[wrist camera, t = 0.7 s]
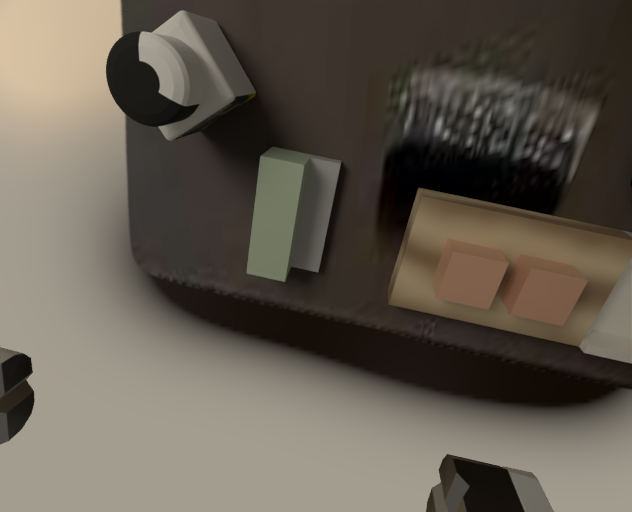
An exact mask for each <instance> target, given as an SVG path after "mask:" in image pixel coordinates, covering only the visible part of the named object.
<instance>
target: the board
mask: <svg viewBox="0 0 632 512" xmlns="http://www.w3.org/2000/svg"><path fill="white" fill-rule="evenodd" d="M447 238H448V239H452V240H457V241H462V242H466V243H471V244H476V245H480V246H485V247H490V248H494V249H499V250H500V251H501V253H502V254H503V255H504V257H505V258H506V259H507V261H508V262H509V265H508V267H507V269H506V272H505V274H504V276H503V278H502V281H501V283H500V285H499V287H498V290H497V292H496V294H495V297H494V299H493V301H492V303H491V306H490V308H489V310H487V309H482V308H478V307H473V306H469V305H464V304H460V303H455V302H450V301H446V300H441V299H437V298H436V296H435V293H434V289H433V286H432V281H433V278H434V275H435V272H436V270H437V267H438V264H439V261H440V258H441V255H442V253H443V250H444V247H445V244H446V241H447ZM520 254H522V255H527V256H532V257H536V258H541V259H546V260H550V261H555V262H560V263H564V264H569V265H573V266H574V267H575V268H576V269H577V270H578V271H579V272H580V273H581V274H582V275H583V276H585V277H586V278H587V279H588V282H587V284H586V286H585V287H584V289H583V291H582V293H581V295H580V297H579V298H578V300H577V302H576V304H575V306H574V308H573V309H572V311H571V313H570V315H569V317H568V318H567V320H566V322H565V324H564V326H559V325H555V324H550V323H546V322H541V321H537V320H532V319H528V318H523V317H519V316H514V315H510V314H509V312H508V310H507V309H506V307H505V305H504V303H503V302H502V300H501V296H502V294H503V292H504V289H505V287H506V285H507V283H508V280H509V278H510V276H511V274H512V272H513V269H514V267H515V265H516V263H517V260H518V258H519V256H520ZM631 257H632V237H631V236H630V235H628V234H627V233H625V232H624V231H622V230H618V229H613V228H608V227H603V226H599V225H594V224H589V223H584V222H580V221H575V220H570V219H565V218H561V217H556V216H551V215H546V214H542V213H537V212H532V211H527V210H523V209H518V208H513V207H508V206H504V205H499V204H494V203H489V202H485V201H480V200H475V199H470V198H465V197H461V196H456V195H451V194H446V193H442V192H437V191H432V190H427V189H423V188H418V191H417V195H416V198H415V201H414V205H413V208H412V211H411V215H410V218H409V221H408V225H407V228H406V231H405V235H404V238H403V241H402V245H401V248H400V251H399V255H398V258H397V261H396V265H395V268H394V271H393V275H392V278H391V281H390V285H389V288H388V300H389V305H393V306H398V307H402V308H407V309H412V310H416V311H421V312H425V313H430V314H434V315H439V316H443V317H448V318H452V319H457V320H461V321H466V322H470V323H475V324H479V325H484V326H488V327H493V328H497V329H502V330H506V331H511V332H515V333H520V334H524V335H529V336H533V337H538V338H542V339H547V340H551V341H556V342H560V343H565V344H569V345H574V346H578V347H579V346H580V344H581V343H582V341H583V339H584V338H585V336H586V334H587V332H588V331H589V329H590V327H591V326H592V324H593V322H594V320H595V319H596V317H597V315H598V314H599V312H600V310H601V309H602V307H603V305H604V303H605V302H606V300H607V298H608V297H609V295H610V293H611V291H612V290H613V288H614V286H615V285H616V283H617V281H618V279H619V278H620V276H621V274H622V273H623V271H624V269H625V268H626V266H627V264H628V262H629V261H630V259H631Z"/></svg>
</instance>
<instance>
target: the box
mask: <svg viewBox="0 0 632 512" xmlns="http://www.w3.org/2000/svg"><path fill="white" fill-rule="evenodd" d="M622 231H623V230H622ZM624 232H625V233H627V234H628V235H630V236H631V237H632V232H627V231H624ZM579 347H580V348H581V350H582V351H583V352H584V353H587V354H591V355H596V356H600V357H605V358H609V359H614V360H618V361H623V362H627V363H632V257H631V259H630V261H629V262H628V264H627V266H626V268H625V269H624V271H623V273H622V274H621V276H620V278H619V279H618V281H617V283H616V285H615V286H614V288H613V290H612V291H611V293H610V295H609V297H608V298H607V300H606V302H605V303H604V305H603V307H602V309H601V310H600V312H599V314H598V315H597V317H596V319H595V320H594V322H593V324H592V326H591V327H590V329H589V331H588V332H587V334H586V336H585V338H584V339H583V341H582V343H581V344H580V346H579Z"/></svg>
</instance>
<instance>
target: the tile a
mask: <svg viewBox="0 0 632 512" xmlns="http://www.w3.org/2000/svg"><path fill="white" fill-rule="evenodd" d="M508 265H509V262H508V261H507V259H506V258H505V257H504V255H503V254H502V253H501V251H500V250H499V249H494V248H490V247H485V246H480V245H476V244H471V243H466V242H462V241H457V240H452V239H448V238H447V241H446V244H445V247H444V250H443V253H442V255H441V258H440V261H439V264H438V267H437V270H436V272H435V275H434V278H433V281H432V286H433V289H434V293H435V296H436V298H437V299H441V300H446V301H450V302H455V303H460V304H464V305H469V306H473V307H478V308H482V309H487V310H489V308H490V306H491V303H492V301H493V299H494V297H495V294H496V292H497V290H498V287H499V285H500V283H501V281H502V278H503V276H504V274H505V272H506V269H507V267H508Z"/></svg>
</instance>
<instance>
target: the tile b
mask: <svg viewBox="0 0 632 512" xmlns="http://www.w3.org/2000/svg"><path fill="white" fill-rule="evenodd" d="M587 282H588V279H587V278H586V277H585V276H583V275H582V274H581V273H580V272H579V271H578V270H577V269H576V268H575V267H574V266H573V265H569V264H564V263H560V262H555V261H550V260H546V259H541V258H536V257H532V256H527V255H522V254H520V256H519V258H518V260H517V263H516V265H515V267H514V269H513V272H512V274H511V276H510V278H509V280H508V283H507V285H506V287H505V289H504V292H503V294H502V296H501V300H502V302H503V303H504V305H505V307H506V309H507V310H508V312H509V314H510V315H514V316H519V317H523V318H528V319H532V320H537V321H541V322H546V323H550V324H555V325H559V326H564V324H565V322H566V320H567V318H568V317H569V315H570V313H571V311H572V309H573V308H574V306H575V304H576V302H577V300H578V298H579V297H580V295H581V293H582V291H583V289H584V287H585V286H586V284H587Z"/></svg>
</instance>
